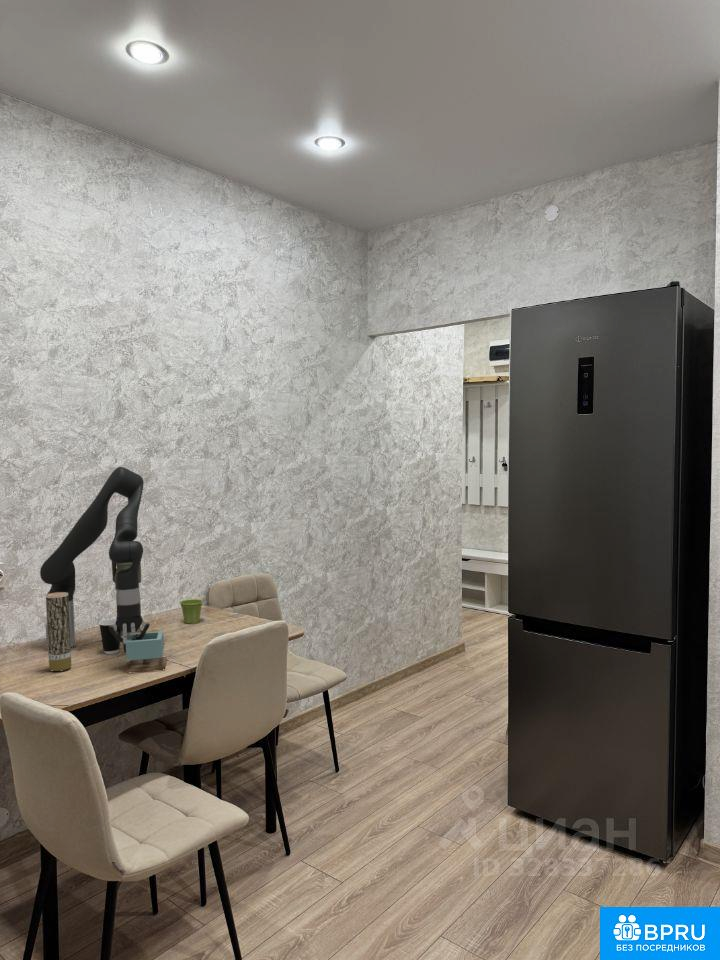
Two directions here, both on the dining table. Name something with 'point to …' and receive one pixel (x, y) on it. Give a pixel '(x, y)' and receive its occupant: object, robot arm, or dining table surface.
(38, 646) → the dining table surface
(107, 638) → the dixie cup
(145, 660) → the shaft block
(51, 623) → the paper tube
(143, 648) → the collar
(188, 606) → the plant pot
